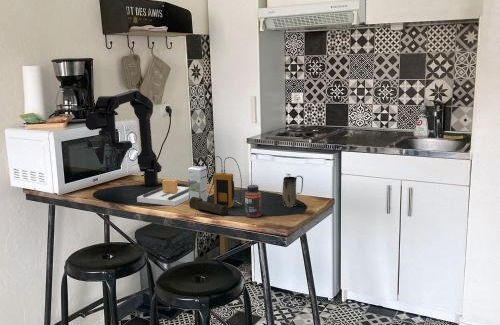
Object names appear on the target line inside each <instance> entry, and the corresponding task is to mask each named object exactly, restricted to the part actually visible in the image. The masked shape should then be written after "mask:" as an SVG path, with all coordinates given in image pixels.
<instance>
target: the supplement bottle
mask: <svg viewBox="0 0 500 325" xmlns="http://www.w3.org/2000/svg"><path fill="white" fill-rule="evenodd" d="M246 188H247V190H246V191H245V193H244V199H245V200H244V204H245V206H244V207H245V211H244V212H245V216H246V217H247V218H251V217H256V218H259V216H260V217H261V216H262V213H263V212H262V210H263V209H262V192H261V191H260V190H259V185H258V184H249V185H247V187H246Z"/></svg>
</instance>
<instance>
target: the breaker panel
mask: <svg viewBox="0 0 500 325" xmlns="http://www.w3.org/2000/svg"><path fill="white" fill-rule="evenodd" d="M177 187H178V192H177V193H168V192H163V186H161V187H157V188H155V189H154V190H150V191H148V192H146V193H144V194H142V195H139V196H137V197H136V203H144V204H153V205H154V204H155V205H162V206H172V207H176V206H178V205H180V204H182V203H184V202H186V201H189V188H188V186H178V185H177Z"/></svg>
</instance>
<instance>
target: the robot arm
mask: <svg viewBox="0 0 500 325" xmlns="http://www.w3.org/2000/svg"><path fill="white" fill-rule="evenodd" d="M126 103H129V105H130V106H131V107H132V108H133V111H134V112H133V113H134V115H135V116H136V117H137V119H138V126H139V139H140V148H141V149H140V152H139V154H137V165H138V167H139V171H140V173H141V172H142V173H143V177H144V178H143V180H144V183H142V184H141V185H142V186H147V187H156V186H157V185H160V184H162V183H161V181H159V176H158V175H159V174H158V173H161V171H162V168H163V166H162V164H160V162H159V161H158V157H157V155H156V153H155V152H154V150H153V142H152V141H153V140H152V129H151V128H152V127H151V117H152V115H153V113H154V103H153V102H152V100H151V99H150V98H149V97H148V96H146V95H144V94H143V93H141V91H139V90H137V89H135V90H131V89H130V90H127V91H125V92H122V93H118V94H115V95H100V96H98V97H97V99H96V101H95V104H94V106H93V109H92V111H91V112H88V116H87V117H86V118H85V121H84V125H85V127H86V128H87V129H88V130H89V131H94V130H95V131H96V130H98V135H96V136H94V137H93V138H92V139H89V140H88V141H87V143H86V145H87V148H89V149H90V150H91V151H93V152H94V153H95V155H96V157H97V159H98V162H99V164H100V165H103V164H104V160H105V159H104V158H105V147H109V148H110V147H113V148H115V152H116V154H117V162H118V164H117V166H119V167H120V166H122V165H123V162H124V159H125V156H126V155H127V153H128V151H129V150H130V149H131V148H133V143H132V142H131V140H119V138H117V133H118V132H119V130H118V128H117V127H116V116H118V115H119V113H118V112H117V111H116V110H117V109H118V108H119V107H120V105H123V104H126Z"/></svg>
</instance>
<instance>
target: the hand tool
mask: <svg viewBox="0 0 500 325" xmlns="http://www.w3.org/2000/svg"><path fill="white" fill-rule="evenodd" d="M188 202H189V207H190V208H191V209H193V210H197V211H199V210H201V211H206V212H210V213H214V214H217V215H221V217H224V215H225V216H227V215H228V214H229V207H228V206H227V205H225V206H224V205H220V204H214V202H209V201H207V202H206V201H202V199H201V198H197V197H192V198H191V199H190V201H189V200H188Z"/></svg>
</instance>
